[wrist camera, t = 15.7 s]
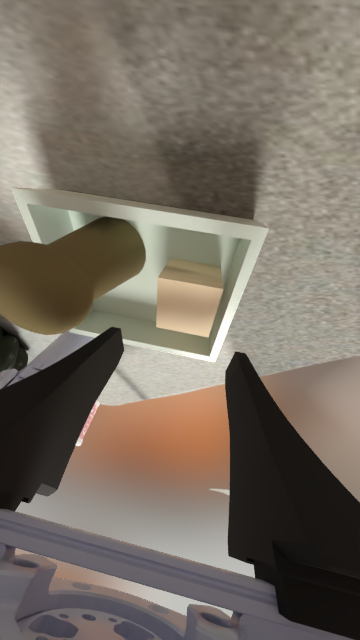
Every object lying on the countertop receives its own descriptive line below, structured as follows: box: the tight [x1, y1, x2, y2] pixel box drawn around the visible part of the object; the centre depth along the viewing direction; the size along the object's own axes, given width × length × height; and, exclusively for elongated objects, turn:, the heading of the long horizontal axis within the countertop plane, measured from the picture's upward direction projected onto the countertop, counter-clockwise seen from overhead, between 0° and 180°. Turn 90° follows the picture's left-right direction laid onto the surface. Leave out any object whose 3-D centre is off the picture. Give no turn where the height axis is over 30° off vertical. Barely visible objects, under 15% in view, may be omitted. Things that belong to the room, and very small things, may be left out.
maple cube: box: [156, 258, 223, 337], centre depth 16 cm, size 5×5×5 cm
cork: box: [0, 216, 146, 335], centre depth 12 cm, size 6×6×11 cm
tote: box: [10, 187, 269, 362], centre depth 17 cm, size 14×18×5 cm
